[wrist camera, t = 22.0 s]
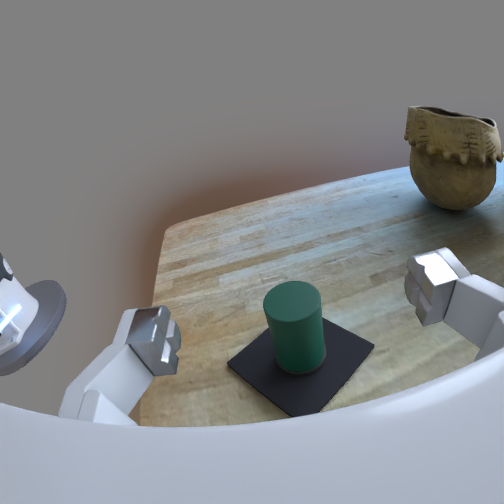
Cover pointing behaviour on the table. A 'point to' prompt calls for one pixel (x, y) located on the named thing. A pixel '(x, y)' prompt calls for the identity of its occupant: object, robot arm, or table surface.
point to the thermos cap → (296, 327)
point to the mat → (309, 387)
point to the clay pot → (452, 156)
